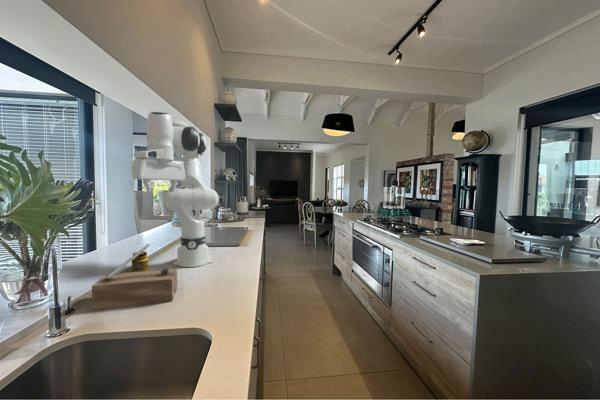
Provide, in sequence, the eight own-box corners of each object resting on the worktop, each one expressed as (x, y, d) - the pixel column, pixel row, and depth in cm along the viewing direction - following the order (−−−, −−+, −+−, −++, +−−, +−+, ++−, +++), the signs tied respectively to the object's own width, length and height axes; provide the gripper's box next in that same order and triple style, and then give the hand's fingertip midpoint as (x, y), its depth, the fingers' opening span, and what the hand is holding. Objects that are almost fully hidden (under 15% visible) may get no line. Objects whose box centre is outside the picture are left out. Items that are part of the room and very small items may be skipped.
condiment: (153, 277, 118) (152, 250, 117) (140, 284, 109) (140, 256, 108) (137, 277, 118) (136, 250, 117) (123, 284, 110) (122, 255, 109)
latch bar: (111, 276, 96) (108, 274, 96) (150, 245, 99) (147, 243, 98) (106, 281, 92) (103, 278, 91) (147, 248, 95) (144, 245, 94)
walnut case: (107, 294, 99) (106, 268, 99) (177, 288, 106) (176, 263, 105) (92, 309, 88) (91, 280, 87) (172, 301, 95) (171, 273, 94)
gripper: (177, 158, 110) (177, 191, 111) (128, 152, 92) (129, 192, 92) (188, 158, 108) (189, 192, 109) (140, 151, 89) (141, 192, 90)
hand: (161, 192), depth 100 cm, fingers open, 8 cm apart
